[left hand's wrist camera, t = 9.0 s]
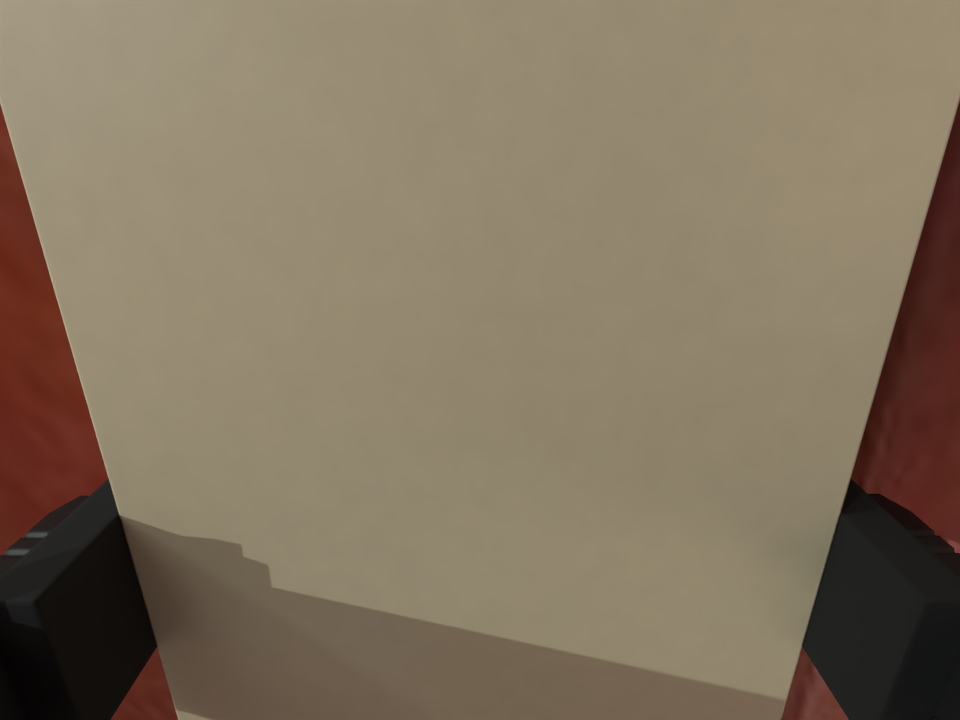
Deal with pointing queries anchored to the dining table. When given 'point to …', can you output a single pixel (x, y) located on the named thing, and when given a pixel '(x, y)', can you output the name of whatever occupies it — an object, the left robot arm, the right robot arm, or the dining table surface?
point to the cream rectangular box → (479, 330)
